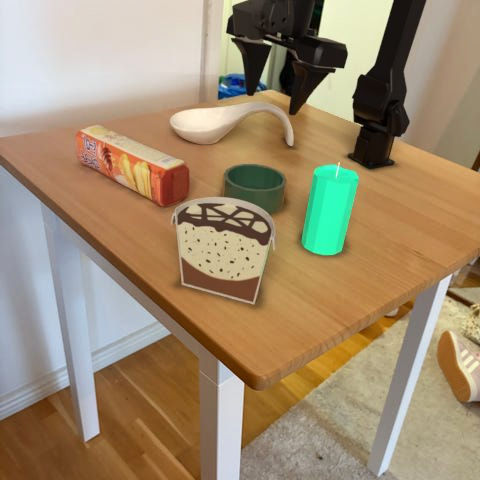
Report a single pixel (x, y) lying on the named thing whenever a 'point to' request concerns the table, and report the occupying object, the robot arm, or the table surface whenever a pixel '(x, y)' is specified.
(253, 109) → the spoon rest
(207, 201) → the food container
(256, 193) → the bowl
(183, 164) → the snack package
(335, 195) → the candle
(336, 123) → the table surface
